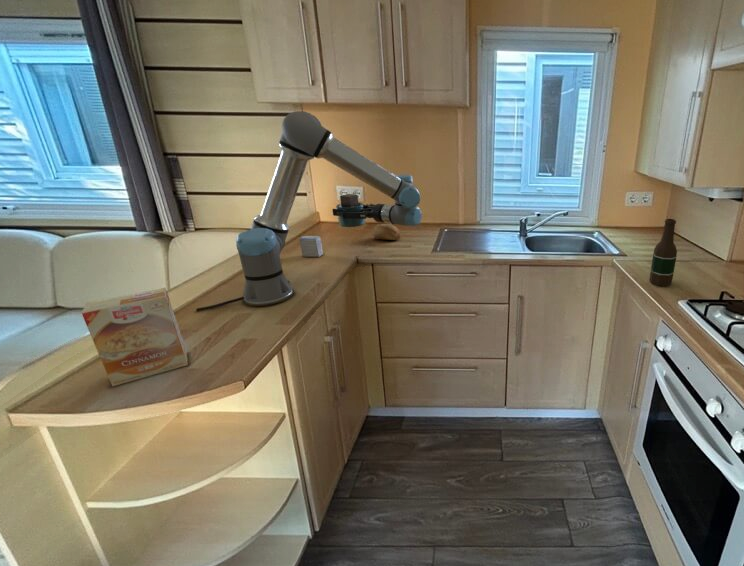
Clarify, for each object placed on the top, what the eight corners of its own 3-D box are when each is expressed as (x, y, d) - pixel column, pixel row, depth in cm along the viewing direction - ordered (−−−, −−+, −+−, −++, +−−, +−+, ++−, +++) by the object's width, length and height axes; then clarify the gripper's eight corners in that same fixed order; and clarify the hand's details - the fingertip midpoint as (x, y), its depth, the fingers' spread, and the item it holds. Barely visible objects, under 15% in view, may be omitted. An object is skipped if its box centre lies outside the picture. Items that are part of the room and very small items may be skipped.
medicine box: (323, 254, 186) (320, 235, 182) (319, 257, 182) (315, 238, 178) (307, 253, 186) (304, 235, 183) (302, 256, 182) (298, 238, 179)
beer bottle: (672, 281, 152) (684, 218, 143) (669, 288, 145) (681, 223, 136) (651, 277, 155) (660, 216, 146) (647, 284, 149) (657, 220, 140)
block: (350, 208, 167) (349, 196, 165) (341, 207, 169) (339, 195, 167) (359, 206, 171) (357, 194, 169) (349, 205, 173) (348, 193, 171)
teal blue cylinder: (342, 228, 166) (339, 208, 163) (336, 222, 174) (333, 204, 171) (368, 224, 171) (366, 205, 168) (361, 219, 179) (359, 201, 176)
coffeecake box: (111, 387, 95) (79, 313, 87) (114, 373, 100) (85, 301, 93) (188, 365, 103) (165, 295, 95) (187, 353, 108) (165, 286, 101)
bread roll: (395, 243, 201) (394, 227, 198) (369, 240, 205) (367, 225, 202) (404, 238, 209) (403, 223, 206) (379, 235, 213) (377, 221, 210)
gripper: (367, 229, 155) (324, 224, 163) (403, 216, 175) (362, 212, 183) (365, 210, 152) (321, 205, 160) (401, 199, 172) (360, 195, 180)
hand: (343, 209), depth 172 cm, fingers closed on teal blue cylinder, 11 cm apart
